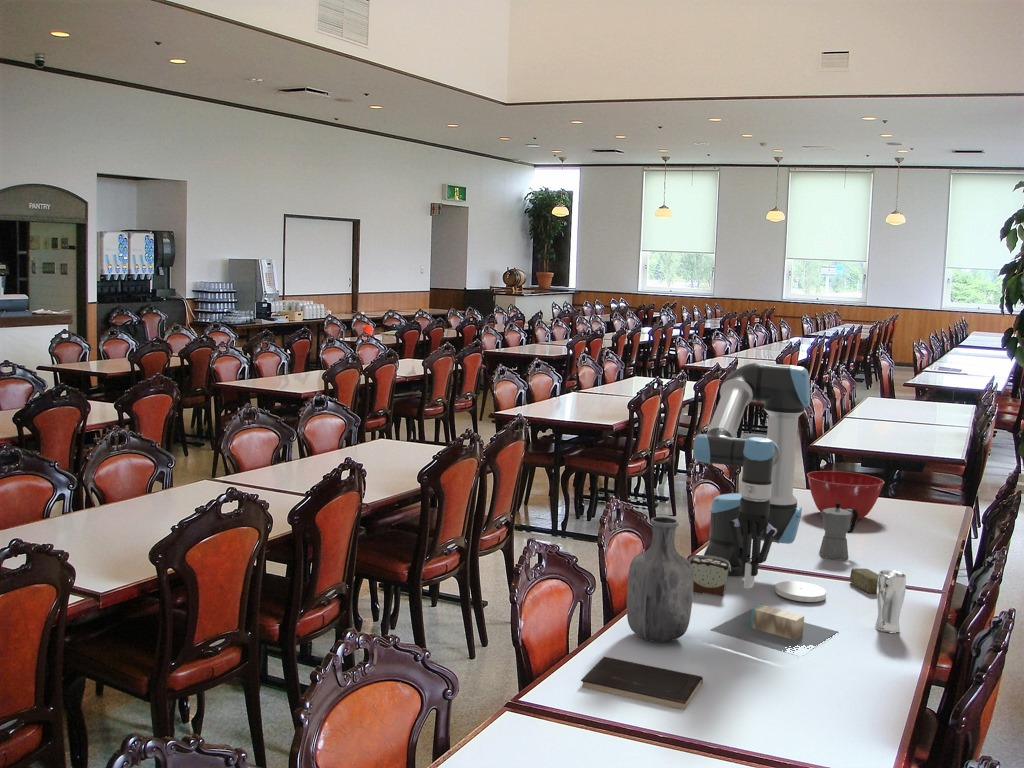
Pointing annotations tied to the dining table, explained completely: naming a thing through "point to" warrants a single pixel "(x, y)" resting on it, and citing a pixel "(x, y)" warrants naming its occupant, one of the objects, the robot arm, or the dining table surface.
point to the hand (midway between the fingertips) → (748, 586)
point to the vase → (660, 587)
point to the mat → (743, 630)
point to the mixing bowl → (844, 490)
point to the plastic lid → (800, 591)
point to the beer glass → (890, 599)
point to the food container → (709, 574)
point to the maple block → (777, 622)
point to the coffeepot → (837, 531)
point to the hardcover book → (642, 682)
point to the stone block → (864, 579)
